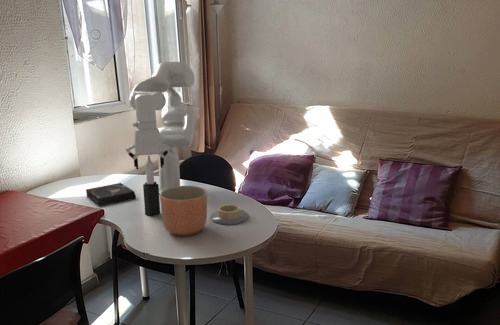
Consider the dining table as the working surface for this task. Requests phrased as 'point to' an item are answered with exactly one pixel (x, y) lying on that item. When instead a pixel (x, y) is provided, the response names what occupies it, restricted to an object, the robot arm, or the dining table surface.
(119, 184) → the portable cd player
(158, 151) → the robot arm
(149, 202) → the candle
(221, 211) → the candle holder
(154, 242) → the dining table surface
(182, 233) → the planter
